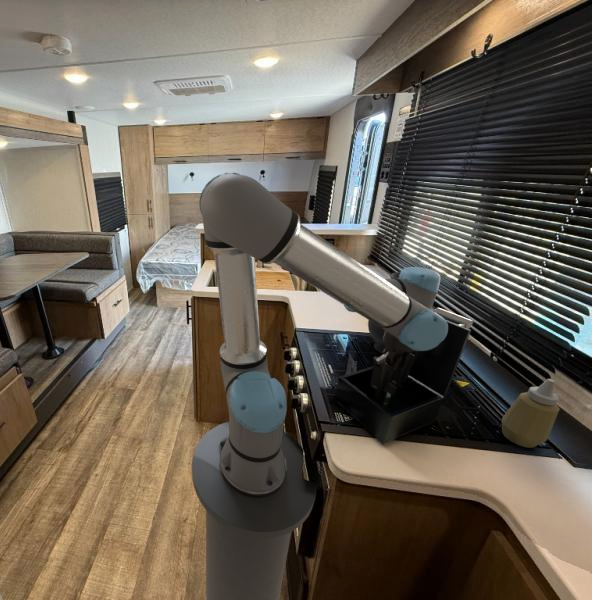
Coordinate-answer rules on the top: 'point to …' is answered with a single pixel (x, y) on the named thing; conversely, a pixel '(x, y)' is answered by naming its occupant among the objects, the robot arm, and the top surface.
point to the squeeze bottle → (531, 416)
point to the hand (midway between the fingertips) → (381, 405)
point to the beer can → (387, 401)
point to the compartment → (394, 420)
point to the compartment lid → (443, 354)
